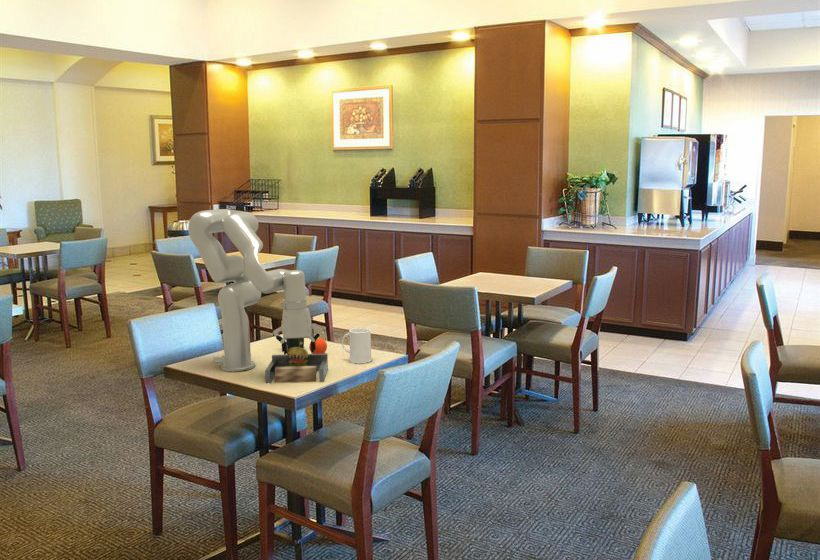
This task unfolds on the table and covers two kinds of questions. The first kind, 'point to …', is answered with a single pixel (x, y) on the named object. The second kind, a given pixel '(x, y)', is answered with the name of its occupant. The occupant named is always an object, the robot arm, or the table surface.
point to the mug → (359, 345)
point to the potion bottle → (295, 342)
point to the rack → (283, 360)
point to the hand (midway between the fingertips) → (299, 352)
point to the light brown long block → (295, 374)
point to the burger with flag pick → (297, 356)
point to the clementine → (319, 346)
